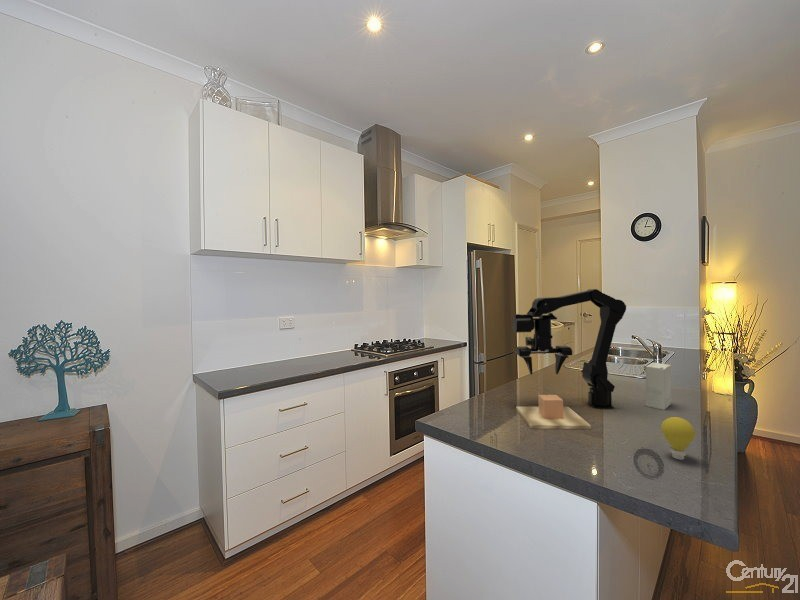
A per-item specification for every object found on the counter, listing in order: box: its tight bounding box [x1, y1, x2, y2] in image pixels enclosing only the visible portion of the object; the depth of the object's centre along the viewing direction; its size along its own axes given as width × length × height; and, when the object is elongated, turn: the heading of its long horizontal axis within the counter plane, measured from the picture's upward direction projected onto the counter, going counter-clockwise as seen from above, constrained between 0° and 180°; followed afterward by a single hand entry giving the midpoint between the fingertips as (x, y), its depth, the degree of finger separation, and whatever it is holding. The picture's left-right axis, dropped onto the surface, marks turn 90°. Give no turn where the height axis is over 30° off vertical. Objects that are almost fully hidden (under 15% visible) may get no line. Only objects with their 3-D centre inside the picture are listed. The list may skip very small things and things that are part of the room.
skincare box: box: [645, 362, 672, 411], centre depth 125 cm, size 8×6×15 cm
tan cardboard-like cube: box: [537, 394, 564, 419], centre depth 116 cm, size 6×6×6 cm
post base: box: [515, 406, 592, 430], centre depth 116 cm, size 18×18×6 cm
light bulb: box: [660, 416, 696, 460], centre depth 87 cm, size 7×7×10 cm
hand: (543, 374), depth 128 cm, fingers open, 9 cm apart
